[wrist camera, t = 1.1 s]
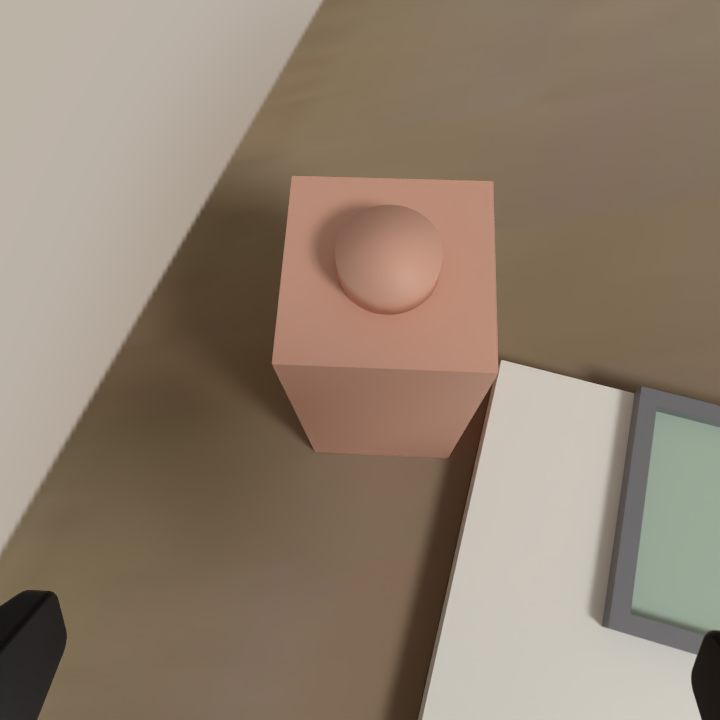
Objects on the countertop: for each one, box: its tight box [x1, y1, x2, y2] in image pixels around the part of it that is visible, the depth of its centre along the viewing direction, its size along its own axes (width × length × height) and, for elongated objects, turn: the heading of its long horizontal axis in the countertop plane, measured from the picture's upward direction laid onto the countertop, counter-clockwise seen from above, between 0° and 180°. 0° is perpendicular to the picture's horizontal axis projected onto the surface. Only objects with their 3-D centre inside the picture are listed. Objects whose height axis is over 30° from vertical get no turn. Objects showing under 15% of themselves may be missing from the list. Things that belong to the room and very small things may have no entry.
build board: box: [418, 360, 720, 720], centre depth 19 cm, size 20×14×2 cm
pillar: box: [272, 176, 498, 458], centre depth 18 cm, size 5×5×11 cm
